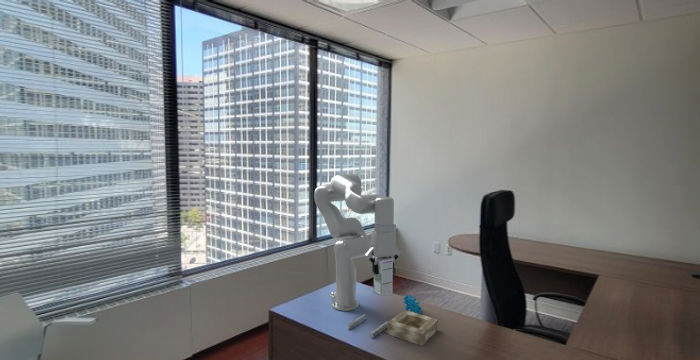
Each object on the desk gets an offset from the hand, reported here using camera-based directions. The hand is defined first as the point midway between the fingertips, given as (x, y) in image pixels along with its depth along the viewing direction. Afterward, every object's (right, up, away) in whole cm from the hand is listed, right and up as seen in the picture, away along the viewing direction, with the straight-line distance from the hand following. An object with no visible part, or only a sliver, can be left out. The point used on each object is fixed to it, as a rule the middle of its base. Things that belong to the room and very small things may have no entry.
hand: (383, 272), depth 149 cm
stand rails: (-6, -24, +3) cm, 25 cm away
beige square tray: (+12, -24, +1) cm, 27 cm away
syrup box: (0, -9, +1) cm, 9 cm away
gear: (+15, -23, +18) cm, 33 cm away
